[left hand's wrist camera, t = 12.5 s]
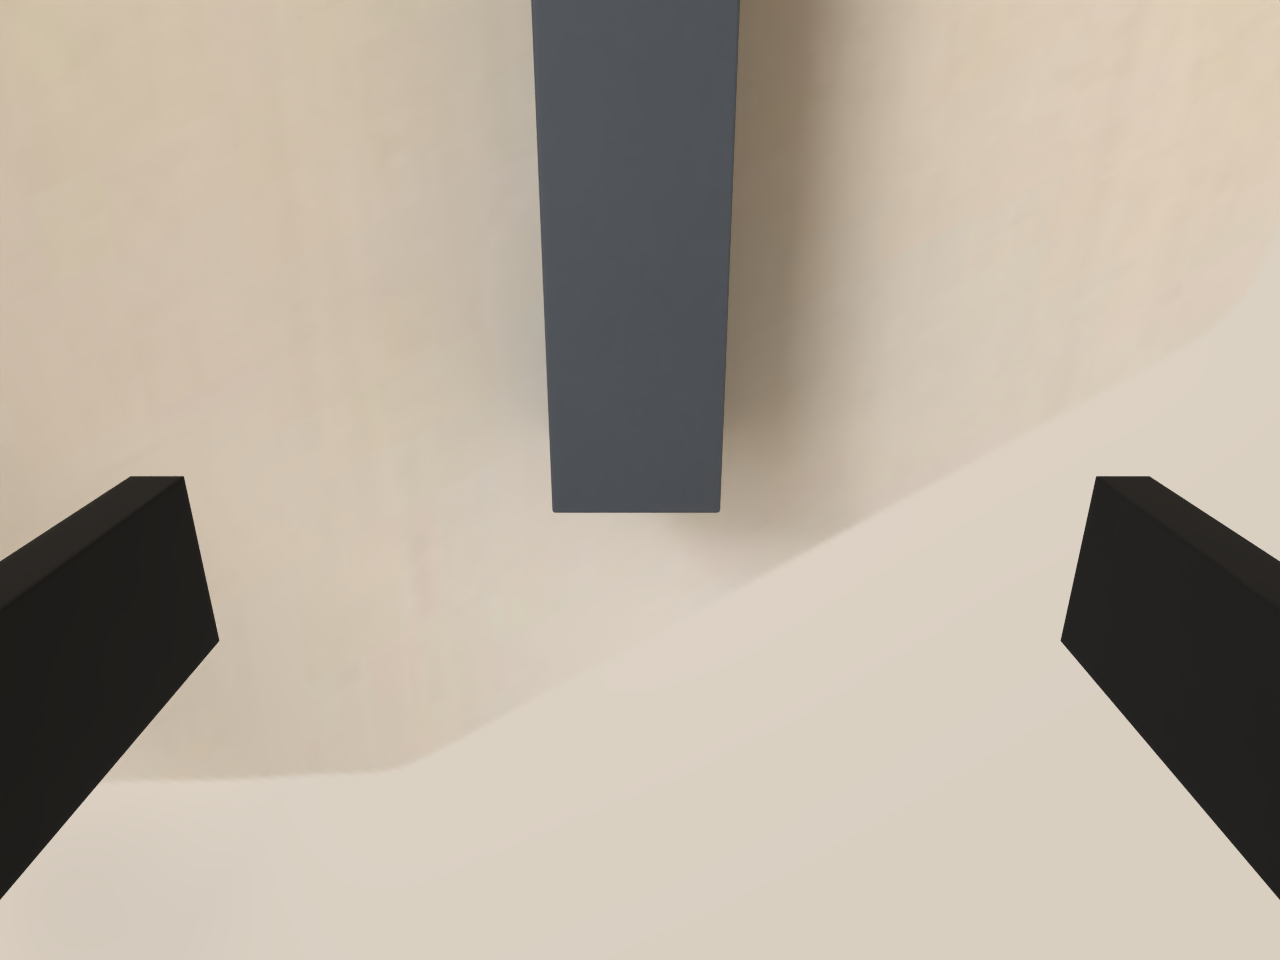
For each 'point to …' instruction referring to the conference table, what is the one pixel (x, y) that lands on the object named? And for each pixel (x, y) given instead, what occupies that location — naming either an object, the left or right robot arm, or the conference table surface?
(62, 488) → the conference table surface
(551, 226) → the post
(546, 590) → the conference table surface
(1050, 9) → the conference table surface
